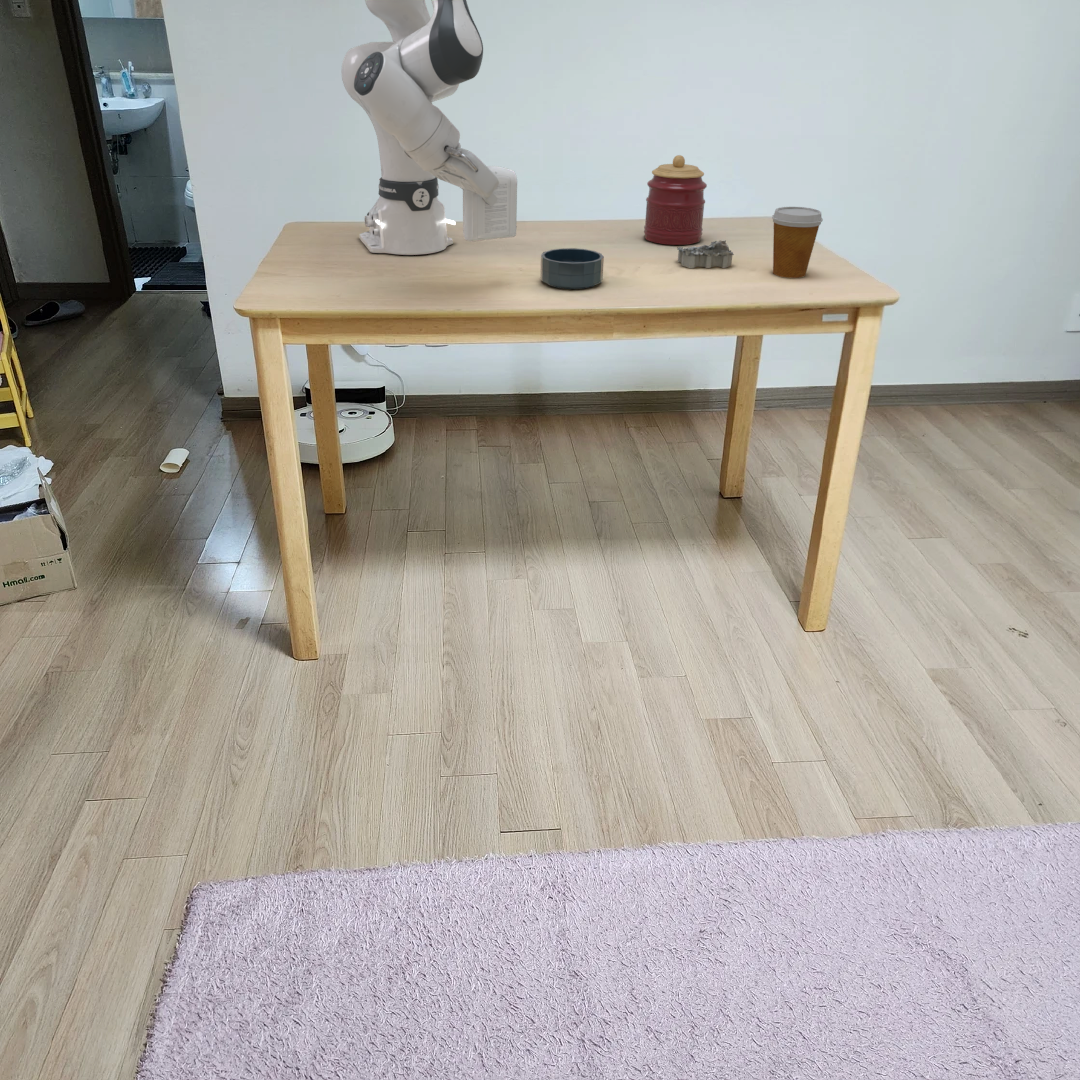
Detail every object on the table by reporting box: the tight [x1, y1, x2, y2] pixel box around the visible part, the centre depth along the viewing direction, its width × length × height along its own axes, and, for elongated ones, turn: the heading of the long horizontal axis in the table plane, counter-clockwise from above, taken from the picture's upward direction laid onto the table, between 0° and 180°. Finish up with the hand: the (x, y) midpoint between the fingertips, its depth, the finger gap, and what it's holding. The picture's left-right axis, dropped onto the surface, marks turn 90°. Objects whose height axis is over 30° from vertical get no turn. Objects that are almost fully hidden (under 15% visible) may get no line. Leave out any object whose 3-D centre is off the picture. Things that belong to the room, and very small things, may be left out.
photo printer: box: [462, 165, 518, 243], centre depth 168 cm, size 10×4×12 cm, turn 123°
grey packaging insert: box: [676, 240, 735, 269], centre depth 190 cm, size 11×8×4 cm
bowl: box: [540, 247, 605, 290], centre depth 176 cm, size 12×12×5 cm
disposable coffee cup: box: [771, 206, 824, 279], centre depth 182 cm, size 10×10×12 cm
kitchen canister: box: [643, 154, 708, 246], centre depth 206 cm, size 13×13×18 cm
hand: (485, 199), depth 167 cm, fingers closed on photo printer, 4 cm apart
